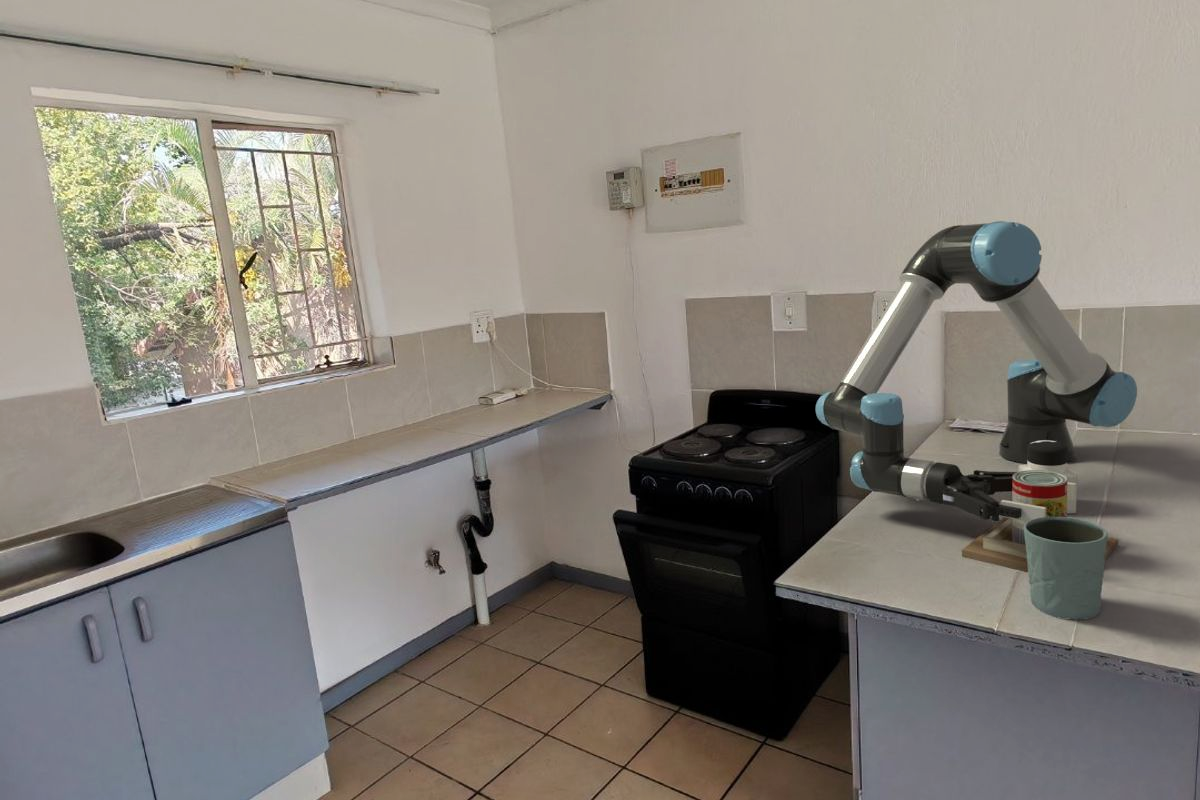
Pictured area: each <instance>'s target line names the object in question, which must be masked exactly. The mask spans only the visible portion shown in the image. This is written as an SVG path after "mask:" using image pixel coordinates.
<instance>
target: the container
mask: <svg viewBox="0 0 1200 800" xmlns="http://www.w3.org/2000/svg"><path fill="white" fill-rule="evenodd" d="M1067 451H1068V448H1067V446H1066V445H1064V444H1062V443H1060V442H1056V441H1049V440H1042V441H1036V442H1032V443H1030V444H1029V445H1028V455H1027V463H1024V464H1018V472H1020V471H1026V470H1044V471H1051V472H1056V473H1059V474H1062V475H1064V476H1065V477H1067V479H1068V480H1067V482H1069V483H1076V497H1075V499H1074V500H1073V499H1067V515H1069V514H1076V512H1077V495H1078V494H1077V493H1078V476H1077V474H1076V473H1074V472H1073V471H1072V470H1070V469H1069V468H1068V461H1067Z"/></svg>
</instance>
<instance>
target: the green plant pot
mask: <svg viewBox="0 0 1200 800" xmlns="http://www.w3.org/2000/svg"><path fill="white" fill-rule="evenodd" d="M1024 536H1025V544H1026V551H1027V562H1028V572H1027V573H1028V578H1029V579H1028V582H1029V584H1030V587H1029V588H1030V589H1029V592H1030V593H1029V595H1030V602H1031V604H1032V606H1033V605H1034V606H1035V607H1036V608H1037V609H1036V608H1035V607H1034V606H1033V607H1034V608H1035V609H1036V610H1038V609H1039V610H1040V611H1039V610H1038V611H1039V612H1041V611H1042V612H1041V613H1043V612H1044V613H1043V614H1045V613H1046V615H1047V614H1048V616H1050V615H1051V617H1054V618H1057V617H1060V618H1059V619H1062V618H1069V619H1068V620H1070V619H1082V620H1086V619H1085V618H1088V619H1092V618H1091V617H1093V618H1095V617H1096V616H1097V615H1099V613H1100V610H1101V604H1102V590H1103V584H1104V583H1103V578H1104V570H1105V561H1106V559H1104V555H1105V552H1106V543H1107V537H1108V531H1107V530H1106V529H1105V528H1104V527H1103V526H1101V525H1100V524H1097V523H1095V522H1093V521H1088V520H1084V519H1080V518H1077V517H1076V518H1075V517H1069V516H1067V517H1042V518H1036V519H1033V520H1030V521H1028V522H1027V523H1026V524H1025V525H1024ZM1095 615H1096V616H1095ZM1094 616H1095V617H1094Z"/></svg>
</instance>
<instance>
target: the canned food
mask: <svg viewBox="0 0 1200 800" xmlns="http://www.w3.org/2000/svg"><path fill="white" fill-rule="evenodd" d="M1016 472H1017V473H1015V474H1014V475H1013V491H1012V502H1018V503H1023V504H1029V505H1035V506H1040V507H1046V517H1068V514H1067V480H1068V479H1067V477H1065V476H1064V475H1062V474H1059V473H1056V472H1051V471H1044V470H1026V471H1020V472H1019V471H1016ZM1026 523H1027V522H1026V521H1021V520H1016V519H1012V542H1013V543H1018V544H1023V545H1026V544H1025V536H1024V525H1025V524H1026Z"/></svg>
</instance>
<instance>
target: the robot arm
mask: <svg viewBox="0 0 1200 800" xmlns="http://www.w3.org/2000/svg"><path fill="white" fill-rule="evenodd" d="M1041 250H1042V245H1041V242H1040V239H1039V238H1038V236H1037V235H1036V233H1035V232H1034V231H1033V230H1032V229H1031V228H1030V227H1028V226H1027V225H1025V224H1022V223H1020V222H1015V221H1013V222H1012V221H1003V220H1001V221H998V220H997V221H992V222H987V223H974V224H964V225H963V224H962V225H961V224H959V225H952V226H949V227H946V228H943V229H941V230H940V231H938V232H937V233H935V234H933V235H932V236H931V237H930V238H929V239H927V240H926V241H925V242H924V243H923V244H922V245H921V246H920V247H919V249H918V250H917V251H916V252H915V254H913V256H912V257H911V258H910V259H909V261H908V262H907V264H906V265H905V267H904V269H903V271H902V272H901V274H900V276H898V277H899V279H898V280H899V282H900V284H899V286H898V288H897V289H896V291H895V293H894V294H893V296H892V298H891V299H890V301H889V302H888V304H887V306H886V308H884V311H883V312H882V314H881V316H880V317H879V318H878V320H877V322H876V324H875V325H874V327H873V329H872V330H871V332H870V333H869V335H868V337H867V339H866V340H865V342H864V343H863V345H862V346H861V348H860V350H859V352H858V353H857V355H856V356H855V358H854V360H853V361H852V363H851V364H850V366H849V368H848V369H847V371H846V373H845V374H844V376H843V377H842V379H841V381H840V382H839V385H838V386H837V387H836V388H835V391H827V392H826V393H824V394H822V395H820V397H819V398H818V400H817V401H816V404H815V414H816V417H817V419H818V421H820V422H821V424H823V425H825V426H828V427H829V428H831V429H832V430H837V431H841V432H844V433H847V434H850V435H853V436H855V437H858V438H861V439H862V451H861V450H860V451H858V452H857V453H856V454H855V455H854V456H853V457H852V459H851V466H850V468H849V473H850V474H849V475H850V478H851V481H852V483H853V484H854V485H855V486H856V487H858V488H861V489H864V490H869V491H872V492H874V493H883V494H887V495H895V496H900V497H905V498H910V499H915V501H916V502H921V500H922V501H929V502H931V503H935V504H941V505H945V506H951V507H955V508H956V509H959V510H962V511H963V512H966V513H969V514H970V515H973V516H975V517H978V518H980V519H982V520H985V521H988V520H989V521H990V520H991V522H996V523H998V522H999V521H1000V517H1001V518H1004V517H1005V518H1011V519H1016V520H1021V521H1026V522H1028V521H1030V520H1033V519H1036V518H1042V517H1046V507H1040V506H1035V505H1029V504H1023V503H1018V502H1013V500H1005V499H1002V500H1001V501H998V500H996V499H995V498H993V497H992V496H993V495H995V494H996V493H1004V492H1013V475H1014V474H1015V473H1017V472H1018V471H989V470H988V471H986V470H979V469H976V470H973V473H972V474H967V475H964V474H963V473H962V472H961V469H960V467H959V466H958V465H956V464H951V463H946V462H945V463H944V462H937V461H936V462H935V461H934V460H927V459H922V458H921V459H919V458H913V457H912V458H911V457H906V456H905V453H904V452H905V449H904V448H905V445H904V419H905V414H904V411H903V400H902V398H901V397H900V395H897V394H895V393H890V392H888V393H887V392H879V391H880V390H881V387H882V386H883V385H884V383H885V381H886V379H887V378H888V376H889V374H890V373H891V372H892V369H893V368H894V366H895V365H896V363H897V362H898V360H899V358H900V356H901V355H902V353H903V352H904V350H905V349H906V347H907V346H908V344H909V343H910V340H911V339H912V337H913V335H914V334H915V332H916V331H917V330H918V328H919V326H920V324H921V322H922V321H923V319H924V318H925V317H926V315H927V313H928V311H929V309H930V308H931V307H932V305H933V303H934V301H937V300H941V299H942V298H943V297H944V295H945V293H946V292H947V290H948V289H950V288H951V286H953V285H956V284H967V285H968V284H969V285H970V286H971V287H972V288H973V289H974V291H975V292H976V294H977V295H978V296H979V298H980V299H981V300H982V301H984V302H985V303H991V304H993V303H994V304H995V305H996V306H997V307H998V309H999V310H1000V312H1001V313H1002V314H1003V315H1004V317H1005V319H1006V320H1007V321H1008V323H1009V324H1010V325H1011V326H1012V328H1013V329H1014V331H1015V332H1016V333H1017V335H1018V336H1019V338H1021V340H1022V342H1023V343H1024V344H1025V346H1026V347H1027V349H1029V351H1030V352H1031V354H1032V355H1033V356H1034V357H1033V358H1025V359H1020V360H1016V361H1013V362H1011V363H1010V364H1009V366H1008V375H1007V379H1006V381H1007V424H1006V427H1005V430H1004V432H1003V435H1002V437H1001V440H1000V442H999V448H998V450H999V456H1000V455H1001V456H1000V457H1002V458H1003V459H1005V460H1008V461H1011V460H1012V462H1015V461H1016V462H1015V463H1020V464H1027V455H1028V445H1029V444H1030V443H1032V442H1036V441H1042V440H1049V441H1056V442H1060V443H1062V444H1064V445H1066V446H1067V448H1068V451H1067V462H1070V461H1072V460H1073V459H1074V458H1075V446H1074V443H1073V441H1072V438H1071V435H1070V433H1069V428H1068V426H1067V420H1068V421H1073V422H1078V423H1083V424H1087V425H1091V426H1093V427H1102V428H1103V427H1105V428H1111V427H1115V426H1118V425H1120V424H1121V423H1123V422H1124V421H1125V420H1126V419H1127V418H1128V417H1129V415H1130V414H1131V412H1132V411H1133V410H1134V407H1135V405H1136V401H1137V397H1138V386H1137V382H1136V380H1135V378H1134V377H1133V376H1132V375H1131V374H1129V373H1125V372H1123V371H1114V369H1112V368H1111V366H1110V365H1109V363H1108V361H1107V360H1106V359H1105V358H1104V357H1103V356H1102V355H1101V354H1098V353H1097V352H1090V351H1089V350H1088V348H1087V347H1086V345H1085V344H1084V342H1083V341H1082V339H1081V338H1080V337H1079V335H1078V334H1077V333H1076V331H1075V330H1074V328H1073V326H1072V325H1071V323H1070V322H1069V321H1068V319H1067V318H1066V317H1065V316H1064V314H1063V313H1062V311H1061V309H1060V307H1058V305H1057V304H1056V302H1055V301H1054V299H1053V298H1052V296H1051V295H1050V293H1049V292H1048V291H1047V290H1046V288H1045V286H1044V285H1043V284H1042V282H1041V281H1040V279H1039V278H1038V277H1039V275H1040V272H1041V266H1040V265H1041V263H1042V254H1040V251H1041ZM1075 497H1076V483H1069V482H1067V499H1073V500H1074V499H1075ZM1076 498H1077V497H1076Z"/></svg>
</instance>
